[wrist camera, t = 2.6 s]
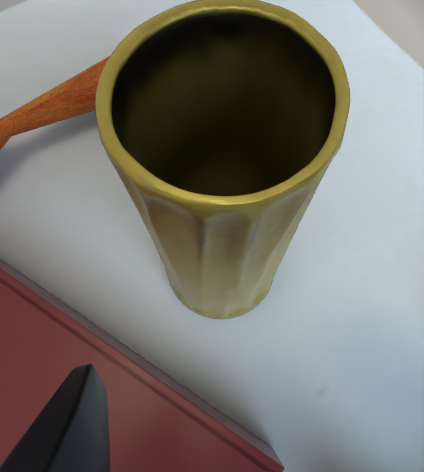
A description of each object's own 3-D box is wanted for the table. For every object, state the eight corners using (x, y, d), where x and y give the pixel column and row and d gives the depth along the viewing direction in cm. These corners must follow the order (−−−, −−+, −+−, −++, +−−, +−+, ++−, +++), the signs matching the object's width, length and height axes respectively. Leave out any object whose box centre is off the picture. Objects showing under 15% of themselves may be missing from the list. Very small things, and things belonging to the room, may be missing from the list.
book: (273, 448, 18) (284, 468, 14) (108, 774, 14) (76, 893, 11) (-21, 244, 21) (-62, 224, 18) (-209, 460, 18) (-299, 481, 15)
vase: (268, 214, 22) (349, -27, 8) (279, 317, 20) (408, 224, 6) (168, 218, 22) (82, -13, 8) (168, 321, 20) (55, 240, 6)
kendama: (184, 67, 20) (-207, 241, 16) (178, 122, 26) (-109, 261, 21) (131, -13, 21) (-259, 131, 16) (137, 57, 27) (-150, 179, 22)
